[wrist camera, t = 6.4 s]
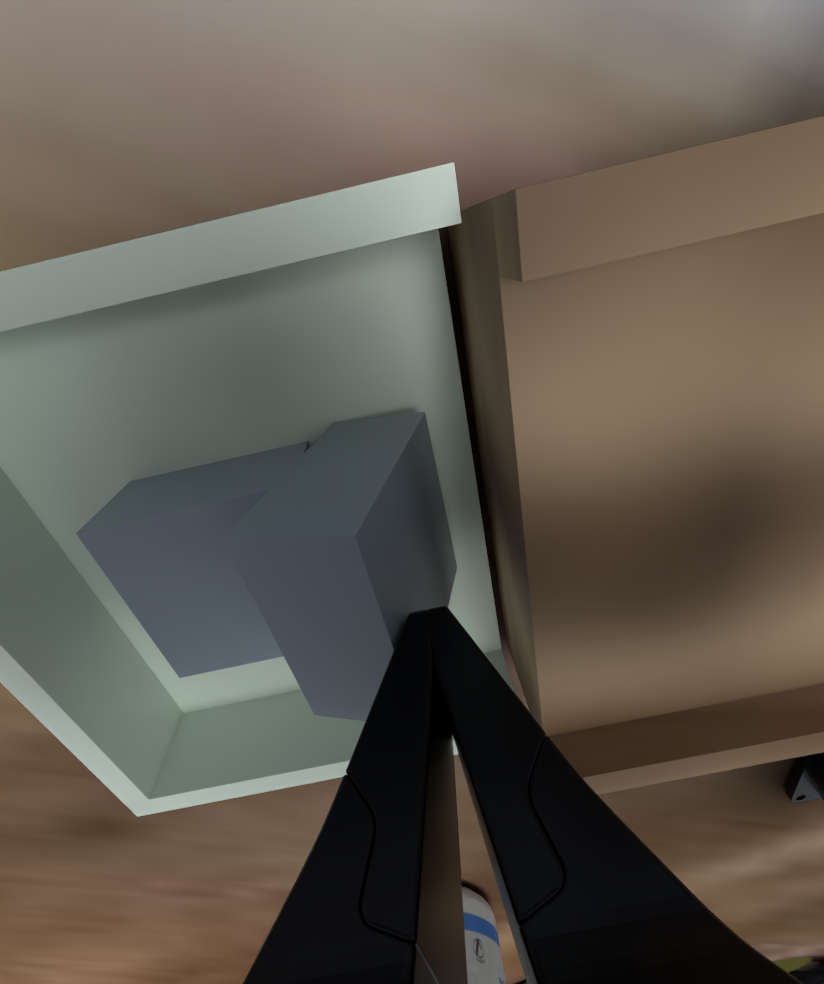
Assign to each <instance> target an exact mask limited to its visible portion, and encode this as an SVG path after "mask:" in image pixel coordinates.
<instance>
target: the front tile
mask: <svg viewBox="0 0 824 984" xmlns="http://www.w3.org/2000/svg"><path fill="white" fill-rule="evenodd" d="M222 540H223V542H224V544H225V546H226V548H227V550H228V551H229V553H230V555H231V557H232V559H233V561H234V563H235V565H236V567H237V569H238V570H239V572H240V574H241V576H242V578H243V580H244V582H245V584H246V586H247V588H248V590H249V591H250V593H251V595H252V597H253V599H254V601H255V603H256V605H257V607H258V609H259V610H260V612H261V614H262V616H263V618H264V620H265V622H266V624H267V626H268V628H269V629H270V631H271V633H272V635H273V637H274V639H275V641H276V643H277V645H278V647H279V648H280V650H281V652H282V654H283V656H284V658H285V660H286V662H287V664H288V666H289V667H290V669H291V671H292V673H293V675H294V677H295V679H296V681H297V683H298V685H299V686H300V688H301V690H302V692H303V694H304V696H305V698H306V700H307V702H308V704H309V705H310V707H311V709H312V711H313V713H314V715H317V716H326V717H334V718H343V719H351V720H360V721H366V719H367V716H368V714H369V711H370V709H371V706H372V704H373V701H374V699H375V696H376V694H377V691H378V689H379V686H380V684H381V681H382V679H383V676H384V674H385V671H386V669H387V666H388V664H389V661H390V659H391V656H392V654H393V651H394V649H395V646H396V644H397V641H398V639H399V636H400V634H401V631H402V629H403V626H404V624H405V621H406V619H407V617H408V615H409V614H410V613H411V612H416V611H421V610H428V609H431V608H436V607H441V606H446V607H448V605H449V601H450V597H451V592H452V588H453V584H454V579H455V575H456V571H457V564H456V559H455V554H454V549H453V544H452V540H451V535H450V530H449V525H448V520H447V516H446V511H445V506H444V501H443V496H442V491H441V487H440V482H439V477H438V472H437V467H436V463H435V458H434V453H433V448H432V443H431V439H430V434H429V429H428V424H427V419H426V414H425V412H418V413H409V414H400V415H392V416H383V417H374V418H365V419H357V420H348V421H339V422H333V423H332V424H331V426H330V427H329V428H328V429H327V430H326V431H325V432H324V433H323V434H322V435H321V436H320V437H319V438H318V439H317V440H316V441H315V442H314V443H313V444H312V446H311V447H310V448H309V449H308V450H307V451H306V452H305V453H304V454H303V455H302V456H301V457H300V458H299V459H298V460H297V461H296V462H295V463H294V464H293V466H292V467H291V468H290V469H289V470H288V471H287V472H286V473H285V474H284V475H283V476H282V477H281V478H280V479H279V480H278V481H277V482H276V483H275V484H274V486H273V487H272V488H271V489H270V490H269V491H268V492H267V493H266V494H265V495H264V496H263V497H262V498H261V499H260V500H259V501H258V502H257V503H256V504H255V506H254V507H253V508H252V509H251V510H250V511H249V512H248V513H247V514H246V515H245V516H244V517H243V518H242V519H241V520H240V521H239V522H238V523H237V524H236V526H235V527H234V528H233V529H232V530H231V531H230V532H229V533H228V534H227V535H226V536H225V537H224V538H223V539H222Z"/></svg>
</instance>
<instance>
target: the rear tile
mask: <svg viewBox="0 0 824 984" xmlns="http://www.w3.org/2000/svg"><path fill="white" fill-rule="evenodd" d="M309 448H310V446H309V443H308V441H306V442H301V443H297V444H292V445H288V446H284V447H279V448H275V449H270V450H266V451H262V452H257V453H253V454H248V455H244V456H240V457H235V458H231V459H226V460H222V461H218V462H213V463H209V464H204V465H200V466H196V467H191V468H187V469H182V470H178V471H174V472H169V473H165V474H160V475H156V476H152V477H147V478H143V479H138V480H134V481H130V482H129V483H128V484H127V485H126V486H125V487H124V488H123V489H121V490H120V491H119V492H118V493H117V494H116V495H115V496H114V497H113V498H112V499H111V500H110V501H109V502H108V503H107V504H106V505H105V506H104V507H103V508H102V509H101V510H100V511H99V512H98V513H97V514H96V515H94V516H93V517H92V518H91V519H90V520H89V521H88V522H87V523H86V524H85V525H84V526H83V527H82V528H81V529H80V530H79V531H78V532H77V533H76V534H77V536H78V537H79V539H80V540H81V541H82V543H83V544H84V546H85V547H86V548H87V550H88V551H89V553H90V554H91V555H92V557H93V558H94V560H95V561H96V562H97V564H98V565H99V566H100V568H101V569H102V571H103V572H104V573H105V575H106V576H107V578H108V579H109V580H110V582H111V583H112V585H113V586H114V587H115V589H116V590H117V592H118V593H119V594H120V596H121V597H122V599H123V600H124V601H125V603H126V604H127V606H128V607H129V608H130V610H131V611H132V612H133V614H134V615H135V617H136V618H137V619H138V621H139V622H140V624H141V625H142V626H143V628H144V629H145V631H146V632H147V633H148V635H149V636H150V638H151V639H152V640H153V642H154V643H155V645H156V646H157V647H158V649H159V650H160V652H161V653H162V654H163V656H164V657H165V658H166V660H167V661H168V663H169V664H170V665H171V667H172V668H173V670H174V671H175V672H176V674H177V675H178V677H179V678H182V677H187V676H192V675H197V674H202V673H206V672H211V671H216V670H221V669H225V668H230V667H235V666H240V665H245V664H249V663H254V662H259V661H264V660H269V659H273V658H278V657H283V654H282V652H281V650H280V648H279V647H278V645H277V643H276V641H275V639H274V637H273V635H272V633H271V631H270V629H269V628H268V626H267V624H266V622H265V620H264V618H263V616H262V614H261V612H260V610H259V609H258V607H257V605H256V603H255V601H254V599H253V597H252V595H251V593H250V591H249V590H248V588H247V586H246V584H245V582H244V580H243V578H242V576H241V574H240V572H239V570H238V569H237V567H236V565H235V563H234V561H233V559H232V557H231V555H230V553H229V551H228V550H227V548H226V546H225V544H224V542H223V540H222V539H223V538H224V537H225V536H226V535H227V534H228V533H229V532H230V531H231V530H232V529H233V528H234V527H235V526H236V524H237V523H238V522H239V521H240V520H241V519H242V518H243V517H244V516H245V515H246V514H247V513H248V512H249V511H250V510H251V509H252V508H253V507H254V506H255V504H256V503H257V502H258V501H259V500H260V499H261V498H262V497H263V496H264V495H265V494H266V493H267V492H268V491H269V490H270V489H271V488H272V487H273V486H274V484H275V483H276V482H277V481H278V480H279V479H280V478H281V477H282V476H283V475H284V474H285V473H286V472H287V471H288V470H289V469H290V468H291V467H292V466H293V464H294V463H295V462H296V461H297V460H298V459H299V458H300V457H301V456H302V455H303V454H304V453H305V452H306V451H307V450H308V449H309Z"/></svg>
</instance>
